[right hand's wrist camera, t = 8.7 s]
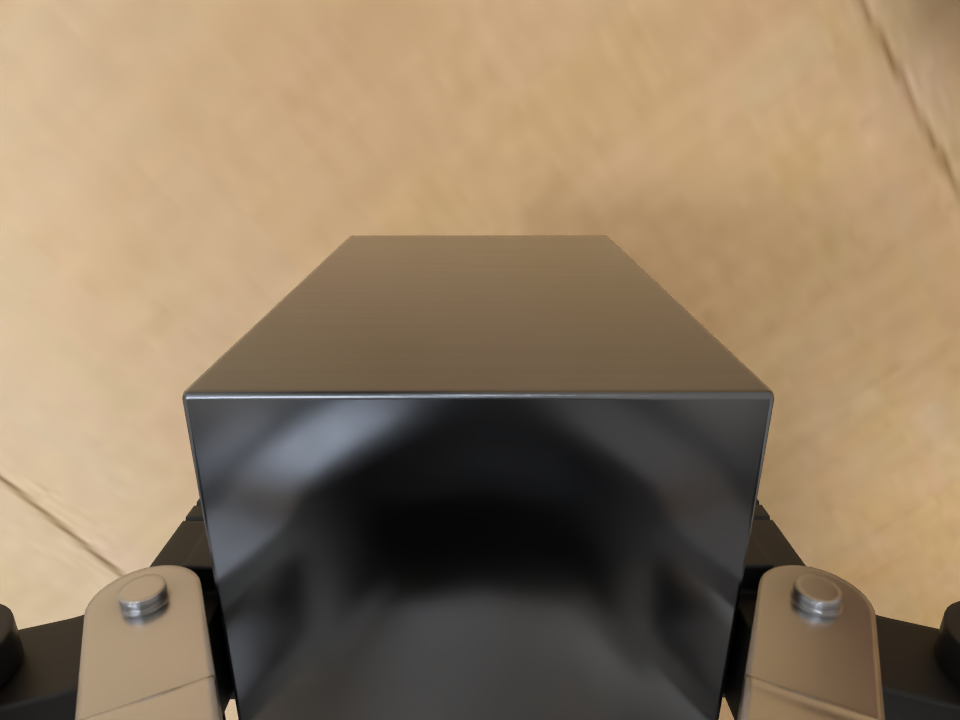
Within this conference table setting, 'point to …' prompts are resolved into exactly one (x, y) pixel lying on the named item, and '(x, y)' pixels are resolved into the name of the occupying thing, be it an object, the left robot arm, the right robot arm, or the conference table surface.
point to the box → (478, 488)
